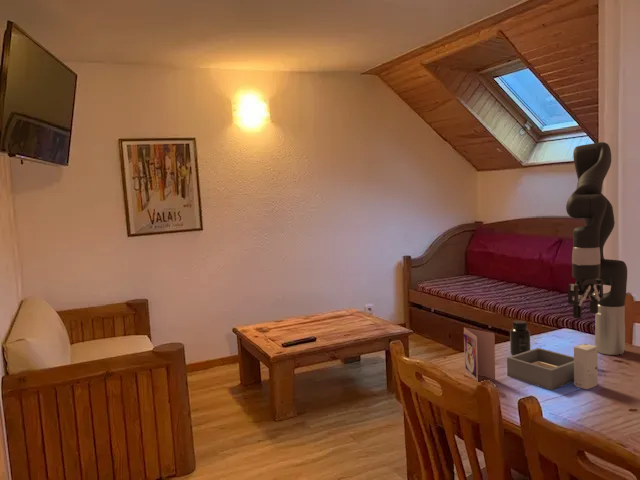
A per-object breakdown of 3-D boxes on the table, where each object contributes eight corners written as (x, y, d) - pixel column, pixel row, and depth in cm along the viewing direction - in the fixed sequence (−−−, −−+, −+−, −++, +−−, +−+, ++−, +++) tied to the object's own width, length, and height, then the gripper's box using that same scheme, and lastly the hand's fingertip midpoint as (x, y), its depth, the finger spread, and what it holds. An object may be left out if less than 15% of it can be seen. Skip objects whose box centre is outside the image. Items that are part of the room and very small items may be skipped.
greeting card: (462, 371, 180) (461, 327, 179) (483, 369, 181) (482, 326, 180) (475, 383, 169) (474, 336, 168) (497, 381, 170) (497, 335, 168)
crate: (538, 364, 183) (538, 347, 183) (582, 377, 170) (582, 359, 169) (507, 375, 175) (507, 357, 174) (551, 390, 161) (551, 370, 161)
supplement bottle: (532, 352, 196) (532, 320, 195) (528, 358, 190) (528, 325, 189) (512, 350, 200) (512, 318, 199) (508, 355, 194) (507, 323, 193)
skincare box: (587, 390, 160) (587, 350, 159) (572, 385, 164) (573, 346, 163) (598, 385, 163) (598, 346, 162) (584, 381, 167) (584, 342, 166)
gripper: (587, 258, 167) (587, 309, 168) (559, 263, 159) (559, 317, 161) (611, 260, 161) (611, 313, 162) (584, 266, 153) (583, 322, 155)
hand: (585, 315), depth 162 cm, fingers open, 8 cm apart
